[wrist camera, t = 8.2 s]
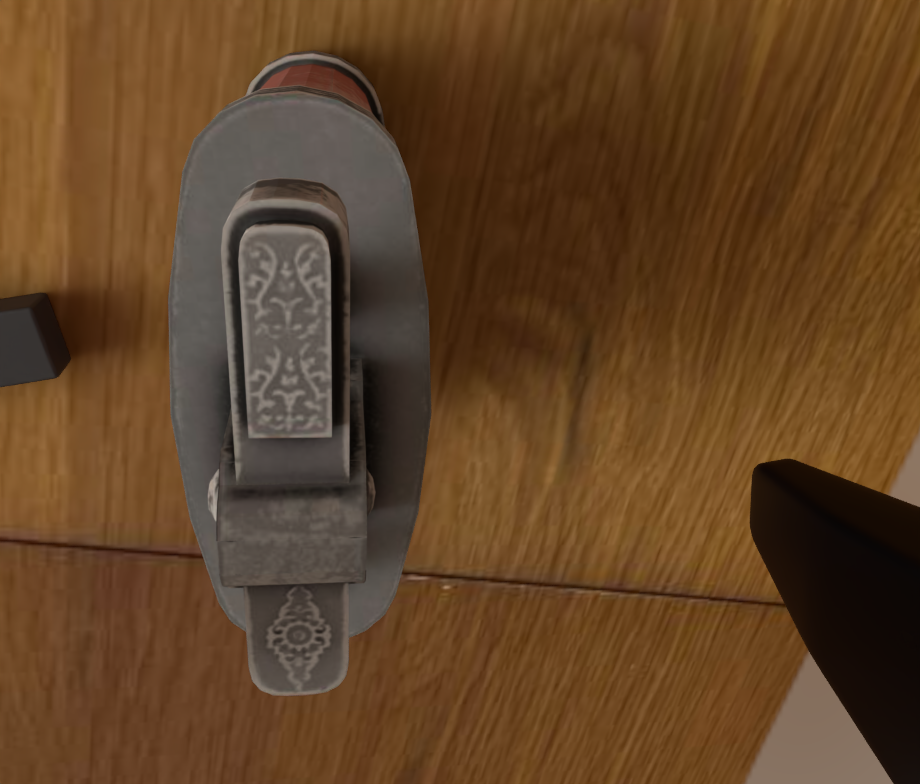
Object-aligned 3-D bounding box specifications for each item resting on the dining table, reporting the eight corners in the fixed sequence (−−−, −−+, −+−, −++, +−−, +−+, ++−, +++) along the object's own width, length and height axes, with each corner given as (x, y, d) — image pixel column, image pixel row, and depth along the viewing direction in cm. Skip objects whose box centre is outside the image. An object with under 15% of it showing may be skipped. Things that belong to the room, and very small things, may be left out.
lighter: (391, 419, 19) (436, 781, 10) (245, 420, 19) (162, 801, 10) (401, 55, 16) (483, 133, 7) (223, 45, 15) (65, 113, 6)
